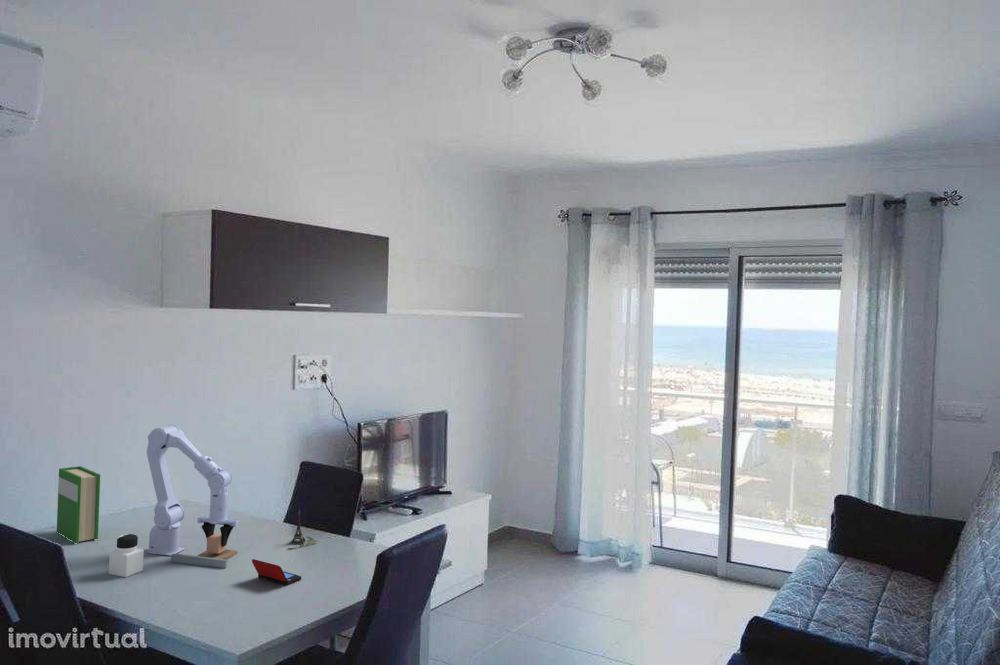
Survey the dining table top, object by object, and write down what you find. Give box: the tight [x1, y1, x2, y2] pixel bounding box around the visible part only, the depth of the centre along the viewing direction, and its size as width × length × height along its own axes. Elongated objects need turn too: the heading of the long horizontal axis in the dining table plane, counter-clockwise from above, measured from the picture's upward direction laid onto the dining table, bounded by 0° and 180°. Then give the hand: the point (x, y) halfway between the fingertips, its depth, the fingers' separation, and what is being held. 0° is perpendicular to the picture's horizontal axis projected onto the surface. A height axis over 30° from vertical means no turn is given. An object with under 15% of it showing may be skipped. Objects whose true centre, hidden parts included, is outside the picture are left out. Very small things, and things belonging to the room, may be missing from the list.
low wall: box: [170, 553, 229, 569], centre depth 251 cm, size 20×1×2 cm, turn 80°
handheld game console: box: [251, 558, 302, 587], centre depth 240 cm, size 12×11×7 cm
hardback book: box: [56, 465, 101, 543], centre depth 273 cm, size 18×7×24 cm, turn 50°
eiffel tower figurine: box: [287, 508, 319, 551], centre depth 279 cm, size 15×10×13 cm
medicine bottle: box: [108, 533, 144, 578], centre depth 240 cm, size 7×7×12 cm
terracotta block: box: [206, 533, 227, 554], centre depth 259 cm, size 4×4×5 cm
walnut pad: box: [196, 548, 238, 560], centre depth 259 cm, size 10×10×1 cm
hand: (217, 545), depth 259 cm, fingers closed on terracotta block, 4 cm apart
